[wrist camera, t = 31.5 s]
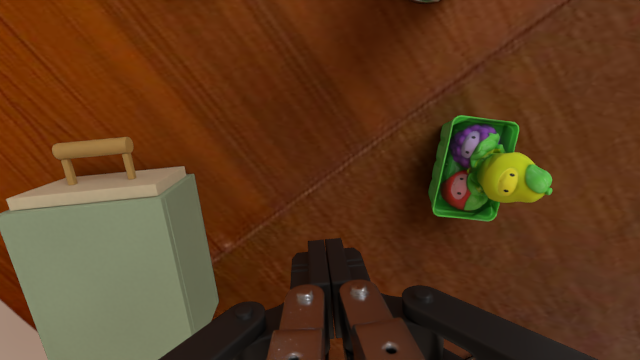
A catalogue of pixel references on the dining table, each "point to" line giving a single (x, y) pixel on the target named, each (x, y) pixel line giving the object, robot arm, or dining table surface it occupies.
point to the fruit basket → (482, 170)
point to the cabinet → (115, 274)
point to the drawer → (97, 178)
